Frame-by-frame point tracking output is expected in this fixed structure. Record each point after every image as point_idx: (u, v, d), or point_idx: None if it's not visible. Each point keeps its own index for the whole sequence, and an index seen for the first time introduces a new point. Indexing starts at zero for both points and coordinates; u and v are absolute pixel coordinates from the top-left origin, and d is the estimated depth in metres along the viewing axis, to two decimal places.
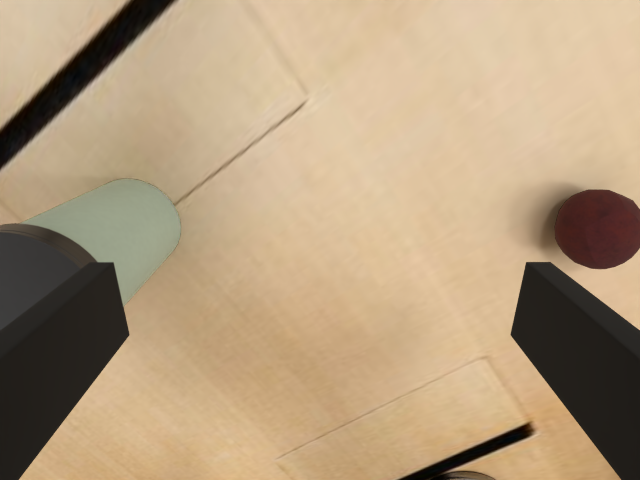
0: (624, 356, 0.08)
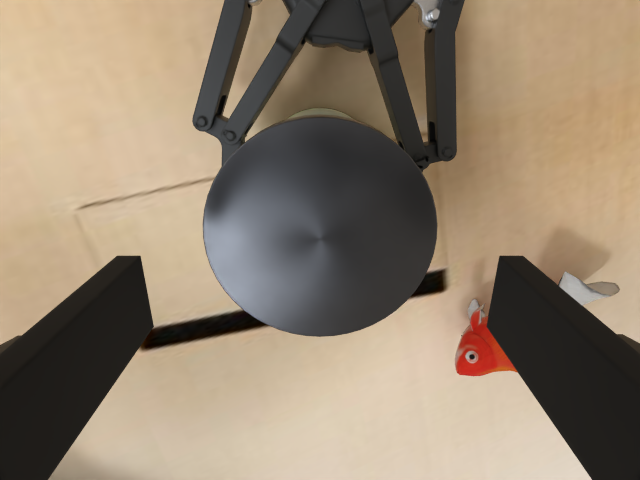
0: (580, 342, 0.09)
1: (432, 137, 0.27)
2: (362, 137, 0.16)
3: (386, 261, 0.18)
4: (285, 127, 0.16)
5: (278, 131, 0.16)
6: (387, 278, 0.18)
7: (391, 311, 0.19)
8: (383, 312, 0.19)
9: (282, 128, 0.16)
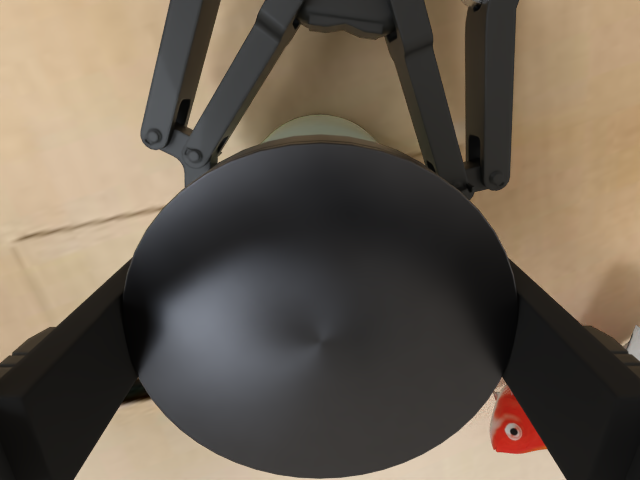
0: (547, 332, 0.09)
1: (472, 156, 0.20)
2: (396, 178, 0.09)
3: (429, 375, 0.11)
4: (257, 161, 0.09)
5: (245, 168, 0.09)
6: (429, 399, 0.11)
7: (433, 445, 0.12)
8: (421, 446, 0.12)
9: (252, 162, 0.09)
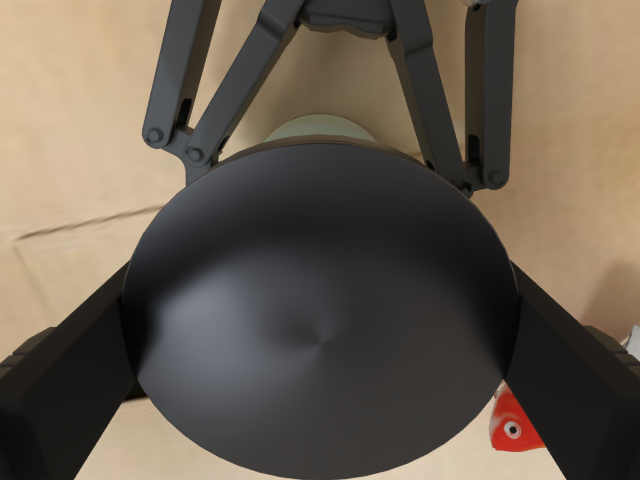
0: (547, 332, 0.09)
1: (471, 155, 0.20)
2: (157, 249, 0.09)
3: (395, 250, 0.09)
4: (133, 349, 0.11)
5: (138, 359, 0.11)
6: (430, 254, 0.09)
7: (504, 258, 0.10)
8: (500, 272, 0.10)
9: (134, 353, 0.11)
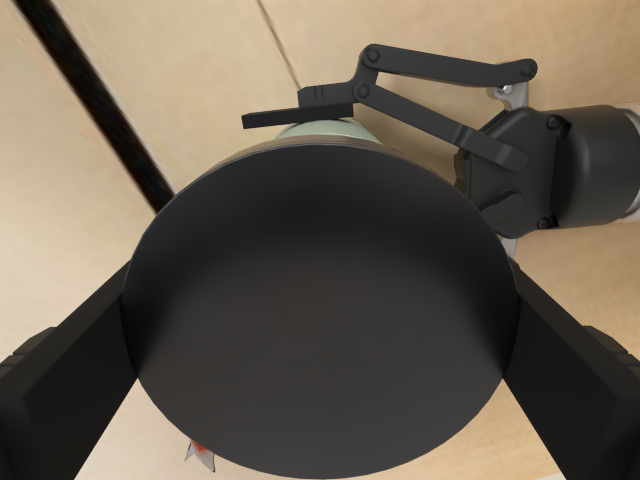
0: (547, 332, 0.09)
1: None
2: (158, 248, 0.09)
3: (395, 250, 0.09)
4: (133, 348, 0.11)
5: (139, 358, 0.11)
6: (430, 254, 0.09)
7: (504, 258, 0.10)
8: (500, 272, 0.10)
9: (134, 353, 0.11)
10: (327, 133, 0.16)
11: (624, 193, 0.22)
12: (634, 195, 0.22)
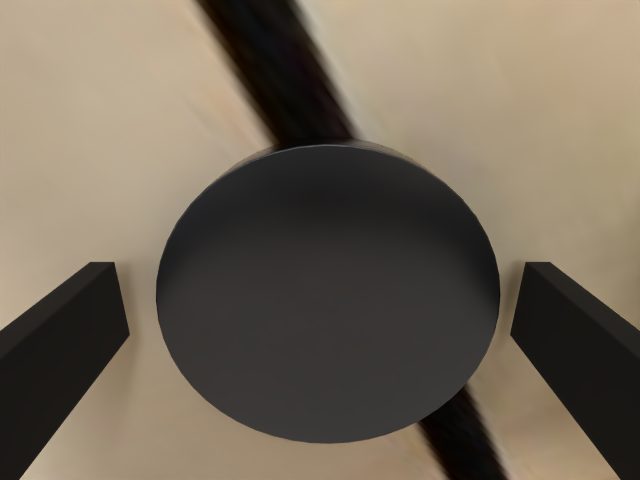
0: (623, 356, 0.08)
1: None
2: (189, 234, 0.11)
3: (392, 236, 0.11)
4: (165, 323, 0.12)
5: (169, 331, 0.12)
6: (422, 239, 0.11)
7: (486, 243, 0.11)
8: (483, 255, 0.11)
9: (166, 327, 0.12)
10: None
11: None
12: None
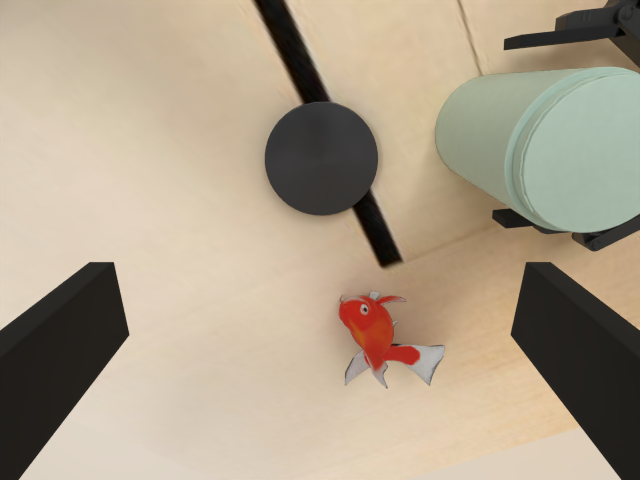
0: (624, 356, 0.08)
1: None
2: (278, 131, 0.35)
3: (341, 131, 0.35)
4: (267, 163, 0.36)
5: (268, 167, 0.36)
6: (350, 132, 0.35)
7: (371, 134, 0.35)
8: (370, 138, 0.36)
9: (267, 165, 0.36)
10: (608, 67, 0.21)
11: None
12: None
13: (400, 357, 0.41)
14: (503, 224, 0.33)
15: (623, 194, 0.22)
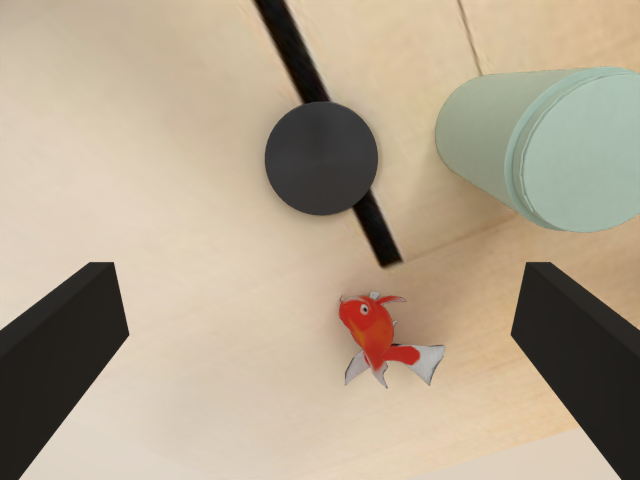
0: (624, 356, 0.08)
1: None
2: (278, 131, 0.35)
3: (341, 131, 0.35)
4: (267, 163, 0.36)
5: (268, 167, 0.36)
6: (350, 132, 0.35)
7: (370, 134, 0.35)
8: (370, 138, 0.36)
9: (267, 165, 0.36)
10: (608, 67, 0.21)
11: None
12: None
13: (400, 357, 0.41)
14: None
15: (623, 194, 0.22)
